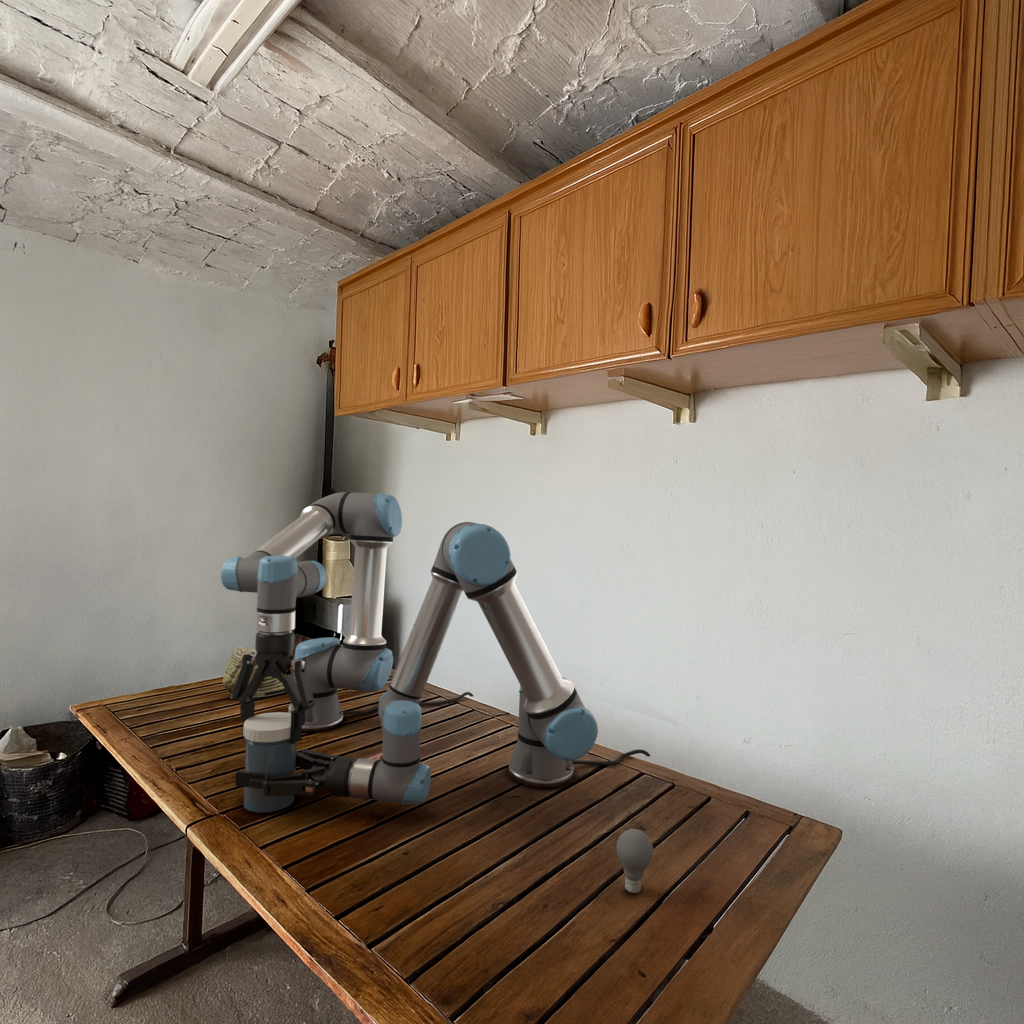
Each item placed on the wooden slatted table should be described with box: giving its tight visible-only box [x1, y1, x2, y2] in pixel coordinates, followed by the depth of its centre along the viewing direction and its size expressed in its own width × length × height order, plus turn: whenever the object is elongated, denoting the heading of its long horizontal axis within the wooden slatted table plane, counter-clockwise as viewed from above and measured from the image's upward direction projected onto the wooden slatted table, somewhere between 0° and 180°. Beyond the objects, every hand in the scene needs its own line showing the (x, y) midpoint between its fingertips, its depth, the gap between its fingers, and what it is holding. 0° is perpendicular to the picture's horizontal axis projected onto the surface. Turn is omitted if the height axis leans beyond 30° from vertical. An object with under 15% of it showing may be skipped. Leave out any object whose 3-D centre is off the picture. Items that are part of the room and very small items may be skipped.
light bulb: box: [615, 828, 654, 894], centre depth 106 cm, size 6×6×10 cm
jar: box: [243, 738, 298, 814], centre depth 131 cm, size 10×10×16 cm
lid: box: [242, 711, 291, 742], centre depth 131 cm, size 11×11×2 cm
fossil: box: [222, 646, 286, 699], centre depth 198 cm, size 9×18×15 cm, turn 132°
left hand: (271, 737), depth 131 cm, fingers closed on lid, 11 cm apart
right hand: (250, 767), depth 131 cm, fingers closed on jar, 10 cm apart
